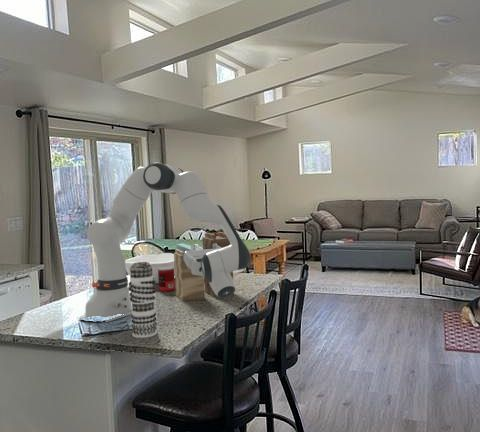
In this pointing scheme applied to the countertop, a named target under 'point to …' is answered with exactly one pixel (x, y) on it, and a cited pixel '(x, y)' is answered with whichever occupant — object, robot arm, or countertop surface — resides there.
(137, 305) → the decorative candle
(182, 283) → the tan wooden tall block
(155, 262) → the baking dish
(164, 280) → the canned food
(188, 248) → the teal block
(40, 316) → the countertop surface
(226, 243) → the end cap post
